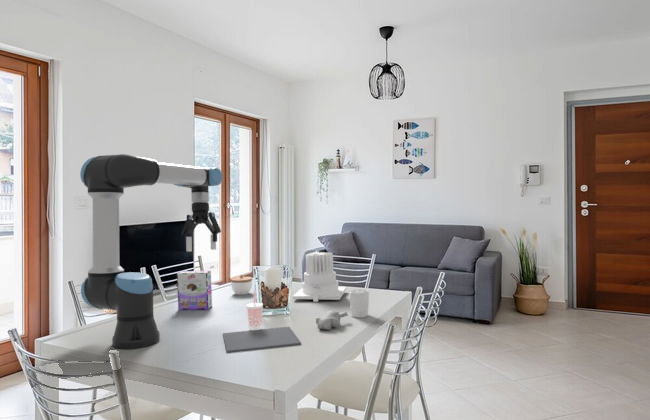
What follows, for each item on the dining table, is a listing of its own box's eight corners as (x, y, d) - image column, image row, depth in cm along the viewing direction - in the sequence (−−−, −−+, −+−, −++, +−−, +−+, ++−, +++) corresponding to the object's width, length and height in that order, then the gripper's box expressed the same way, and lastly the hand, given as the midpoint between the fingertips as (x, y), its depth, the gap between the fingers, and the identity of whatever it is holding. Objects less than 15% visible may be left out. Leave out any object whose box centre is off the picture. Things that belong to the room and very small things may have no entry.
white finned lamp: (339, 303, 213) (337, 256, 212) (292, 302, 216) (290, 256, 216) (346, 291, 237) (345, 249, 236) (304, 291, 241) (302, 249, 240)
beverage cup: (266, 326, 177) (265, 289, 177) (259, 331, 171) (258, 293, 171) (251, 325, 179) (250, 289, 178) (244, 330, 173) (243, 292, 172)
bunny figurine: (310, 319, 171) (327, 305, 185) (311, 332, 172) (328, 317, 185) (333, 321, 167) (350, 307, 181) (334, 335, 168) (350, 320, 181)
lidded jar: (257, 292, 240) (256, 274, 240) (242, 296, 231) (242, 277, 231) (241, 290, 246) (240, 272, 245) (226, 294, 237) (226, 276, 236)
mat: (301, 344, 155) (301, 342, 155) (226, 352, 149) (226, 350, 149) (289, 328, 174) (289, 326, 174) (223, 334, 168) (222, 333, 168)
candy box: (212, 306, 211) (211, 270, 211) (208, 310, 206) (207, 272, 205) (183, 306, 213) (181, 270, 212) (177, 310, 207) (176, 272, 206)
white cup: (368, 312, 194) (367, 288, 194) (370, 317, 186) (370, 292, 186) (349, 313, 194) (348, 289, 193) (350, 318, 186) (350, 293, 185)
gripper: (228, 200, 209) (229, 248, 206) (184, 206, 219) (185, 252, 217) (217, 198, 202) (218, 248, 199) (172, 204, 212) (173, 252, 210)
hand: (201, 250), depth 208 cm, fingers open, 13 cm apart
